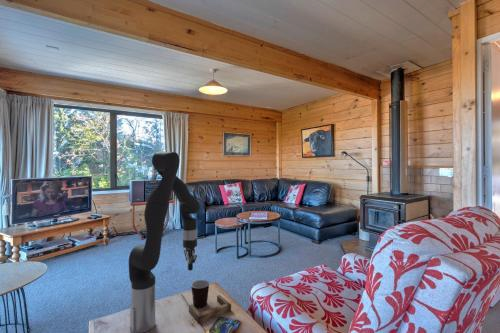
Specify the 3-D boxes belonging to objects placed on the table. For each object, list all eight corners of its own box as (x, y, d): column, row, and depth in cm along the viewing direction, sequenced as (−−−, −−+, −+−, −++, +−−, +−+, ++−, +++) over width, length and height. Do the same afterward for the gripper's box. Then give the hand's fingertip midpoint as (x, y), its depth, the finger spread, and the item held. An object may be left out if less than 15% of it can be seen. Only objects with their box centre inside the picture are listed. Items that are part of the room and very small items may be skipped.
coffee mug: (207, 310, 115) (207, 288, 115) (189, 309, 115) (189, 288, 115) (211, 297, 126) (211, 277, 127) (195, 297, 127) (195, 277, 127)
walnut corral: (198, 323, 105) (198, 316, 105) (189, 311, 114) (189, 305, 114) (231, 311, 114) (231, 304, 114) (219, 300, 123) (219, 294, 123)
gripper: (178, 236, 136) (179, 267, 136) (187, 241, 125) (188, 276, 125) (191, 233, 140) (192, 264, 140) (201, 239, 129) (201, 272, 129)
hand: (190, 269), depth 132 cm, fingers closed
